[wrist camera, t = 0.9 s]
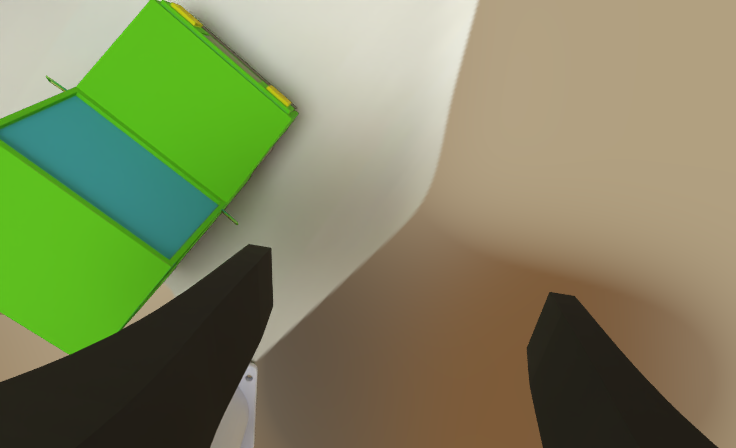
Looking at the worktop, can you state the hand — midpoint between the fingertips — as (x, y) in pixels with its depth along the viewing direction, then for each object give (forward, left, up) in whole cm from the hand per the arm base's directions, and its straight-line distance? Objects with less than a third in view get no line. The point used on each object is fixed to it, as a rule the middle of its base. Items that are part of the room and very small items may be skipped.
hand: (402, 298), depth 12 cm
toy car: (0, +11, -16) cm, 20 cm away
